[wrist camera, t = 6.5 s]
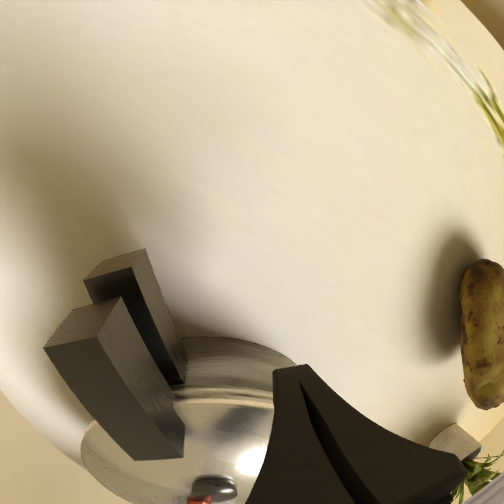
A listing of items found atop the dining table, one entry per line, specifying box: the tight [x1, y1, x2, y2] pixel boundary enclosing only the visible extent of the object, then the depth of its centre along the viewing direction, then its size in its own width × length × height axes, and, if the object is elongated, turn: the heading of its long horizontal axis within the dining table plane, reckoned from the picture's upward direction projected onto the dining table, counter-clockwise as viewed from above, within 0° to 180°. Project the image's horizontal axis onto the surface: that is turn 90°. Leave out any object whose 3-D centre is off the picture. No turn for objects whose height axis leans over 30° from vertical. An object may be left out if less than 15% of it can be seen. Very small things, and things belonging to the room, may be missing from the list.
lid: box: [43, 296, 274, 504], centre depth 12 cm, size 22×17×3 cm
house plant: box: [429, 424, 504, 504], centre depth 19 cm, size 14×14×16 cm
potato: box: [459, 259, 504, 410], centre depth 16 cm, size 8×13×8 cm, turn 5°
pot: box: [83, 249, 297, 400], centre depth 16 cm, size 22×16×5 cm
